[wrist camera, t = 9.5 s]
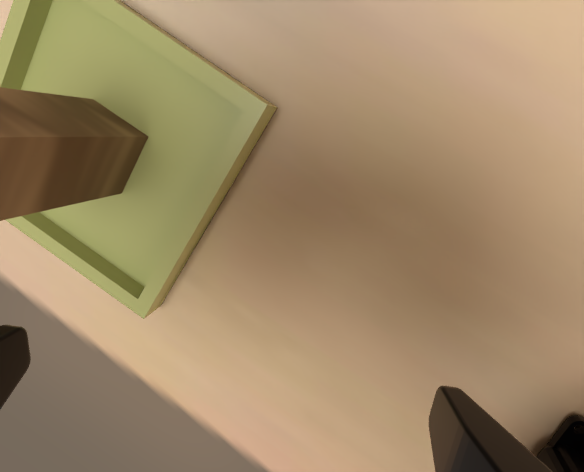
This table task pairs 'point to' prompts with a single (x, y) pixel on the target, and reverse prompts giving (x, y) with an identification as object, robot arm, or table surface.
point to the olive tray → (148, 119)
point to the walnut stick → (61, 151)
